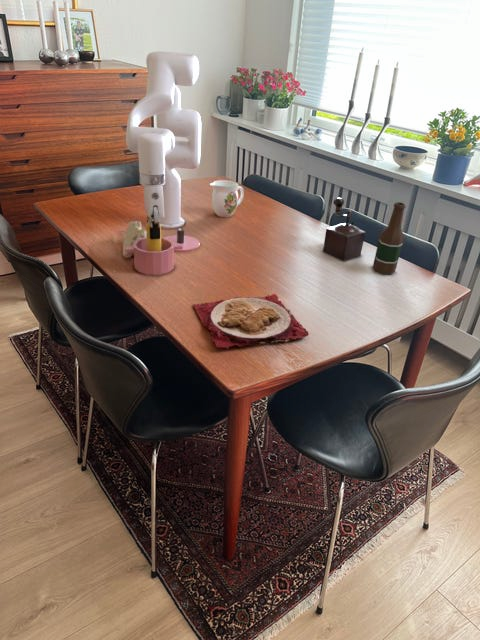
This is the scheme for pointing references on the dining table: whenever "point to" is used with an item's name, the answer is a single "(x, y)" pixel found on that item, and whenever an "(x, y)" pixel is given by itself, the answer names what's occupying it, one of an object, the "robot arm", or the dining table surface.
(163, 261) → the pot
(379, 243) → the beer bottle
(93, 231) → the dining table surface
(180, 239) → the lid
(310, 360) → the dining table surface
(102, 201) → the dining table surface
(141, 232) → the cheese
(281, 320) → the plate with food
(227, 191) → the pitcher
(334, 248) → the coffee grinder
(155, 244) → the yellow stepped cylinder
